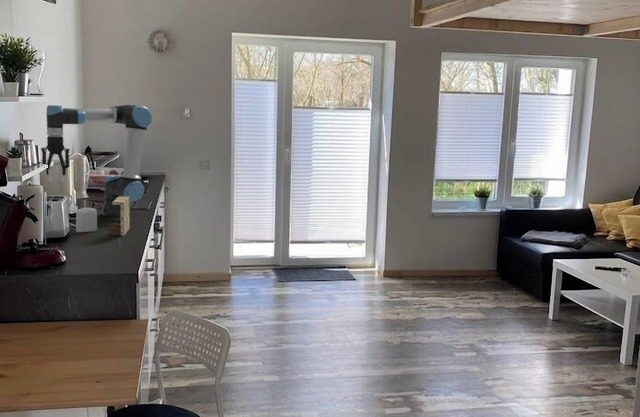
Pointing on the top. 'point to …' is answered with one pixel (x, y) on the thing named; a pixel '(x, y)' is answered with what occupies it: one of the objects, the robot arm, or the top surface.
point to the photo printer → (86, 220)
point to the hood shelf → (125, 217)
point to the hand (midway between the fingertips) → (56, 181)
